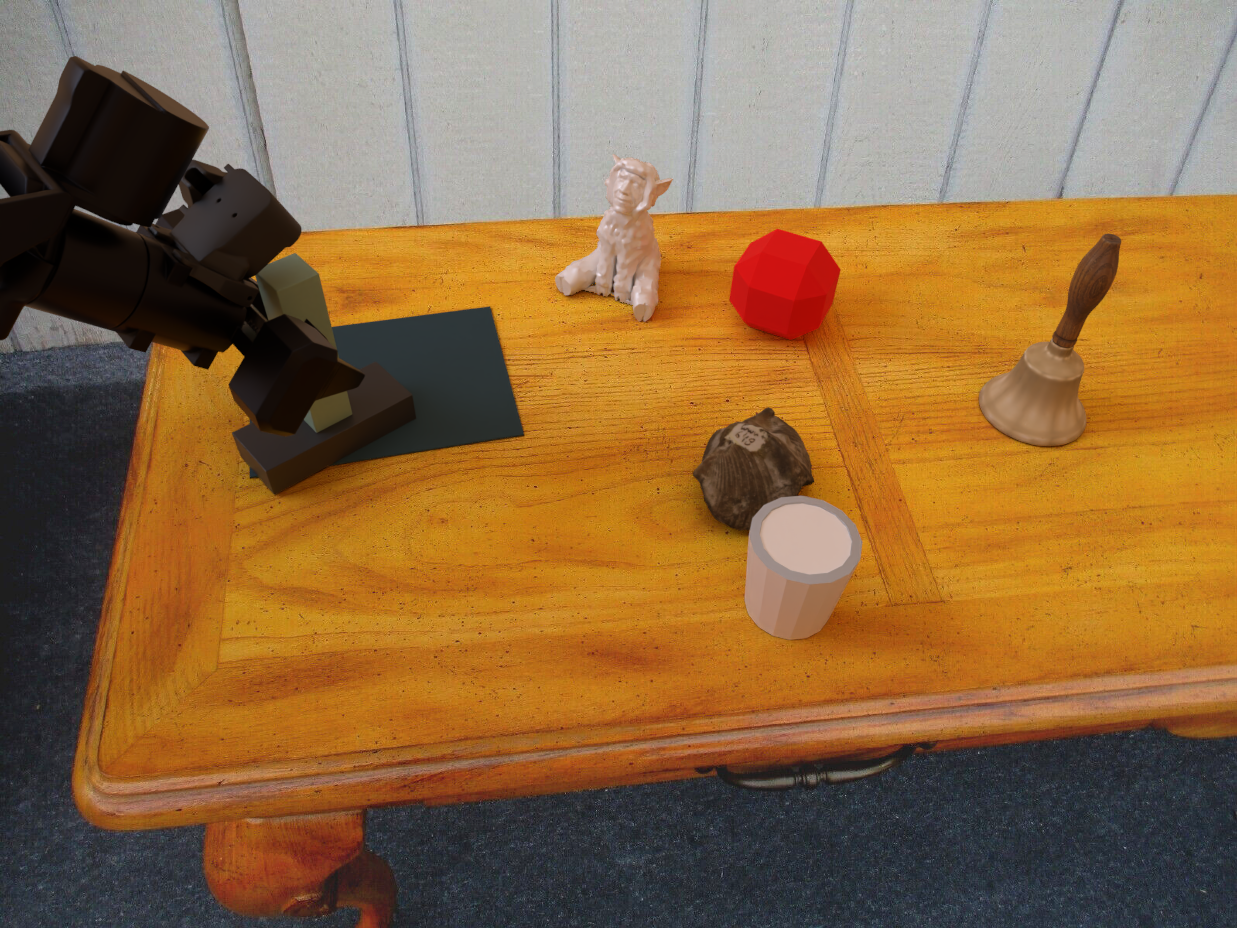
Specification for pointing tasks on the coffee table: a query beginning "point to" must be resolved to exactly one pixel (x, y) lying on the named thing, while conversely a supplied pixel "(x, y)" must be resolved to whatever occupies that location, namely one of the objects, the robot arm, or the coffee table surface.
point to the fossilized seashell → (752, 468)
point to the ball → (784, 284)
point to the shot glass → (798, 565)
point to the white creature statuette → (623, 241)
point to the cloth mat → (436, 379)
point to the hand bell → (1053, 364)
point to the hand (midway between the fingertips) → (330, 350)
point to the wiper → (330, 420)
